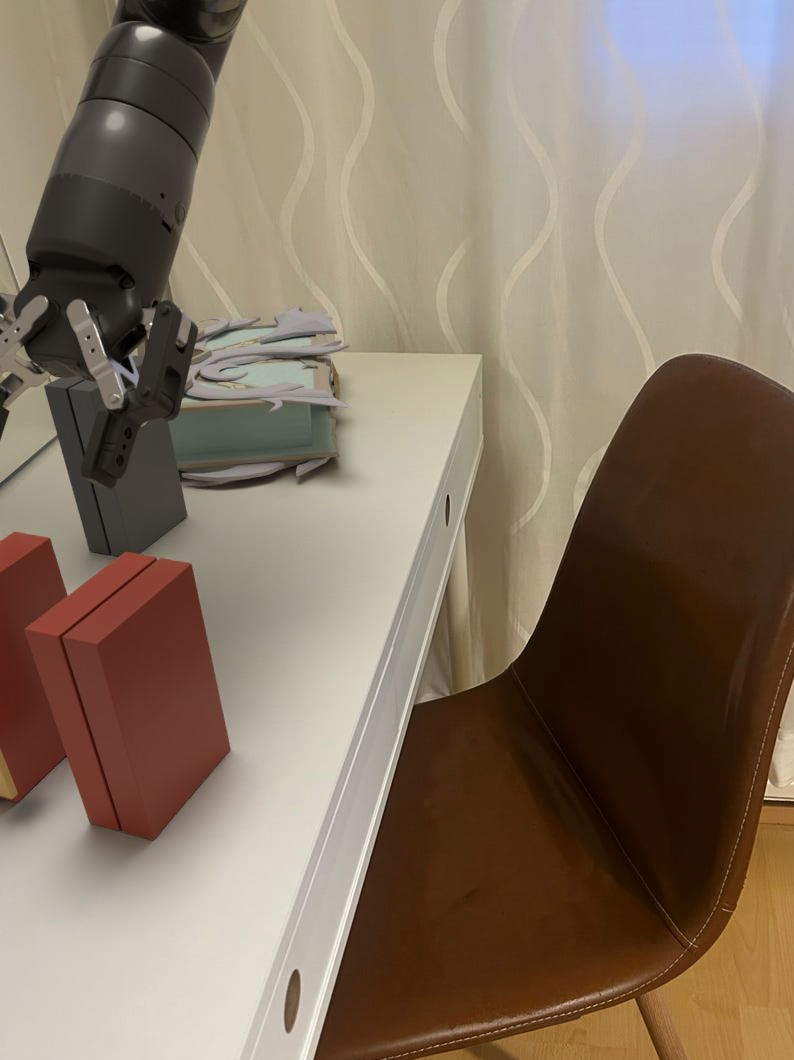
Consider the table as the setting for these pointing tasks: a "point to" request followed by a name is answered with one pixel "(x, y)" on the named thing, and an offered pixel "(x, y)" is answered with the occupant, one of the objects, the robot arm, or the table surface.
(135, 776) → the red books
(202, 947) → the table surface
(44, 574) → the red book
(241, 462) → the ornate book
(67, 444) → the grey books
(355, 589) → the table surface
